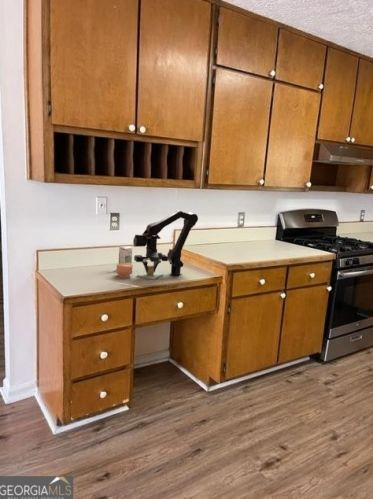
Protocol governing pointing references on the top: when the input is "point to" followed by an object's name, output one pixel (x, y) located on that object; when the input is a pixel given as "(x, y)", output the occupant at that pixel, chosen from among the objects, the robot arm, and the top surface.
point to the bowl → (124, 270)
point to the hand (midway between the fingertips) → (150, 272)
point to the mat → (152, 279)
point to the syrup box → (125, 255)
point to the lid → (150, 273)
